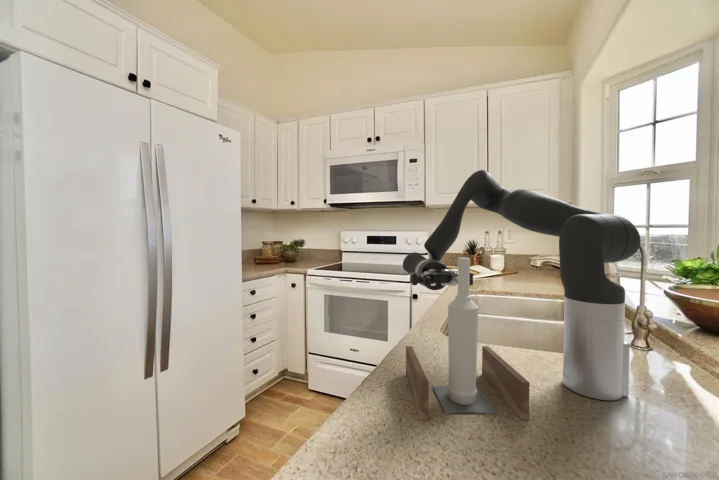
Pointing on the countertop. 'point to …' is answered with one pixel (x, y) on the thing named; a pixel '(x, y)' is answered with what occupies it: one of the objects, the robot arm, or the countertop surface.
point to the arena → (494, 372)
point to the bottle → (462, 340)
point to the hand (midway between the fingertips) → (449, 282)
